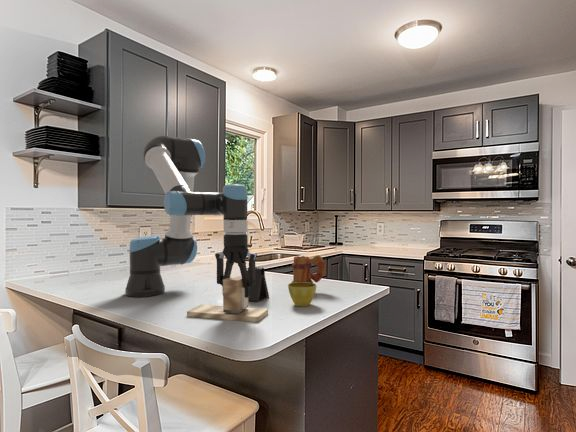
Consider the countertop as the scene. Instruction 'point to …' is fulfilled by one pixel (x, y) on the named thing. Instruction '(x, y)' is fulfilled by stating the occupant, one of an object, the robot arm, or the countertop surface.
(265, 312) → the board
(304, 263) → the mug
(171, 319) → the countertop surface
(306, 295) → the flower pot
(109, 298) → the countertop surface
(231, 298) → the block
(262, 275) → the door stopper
